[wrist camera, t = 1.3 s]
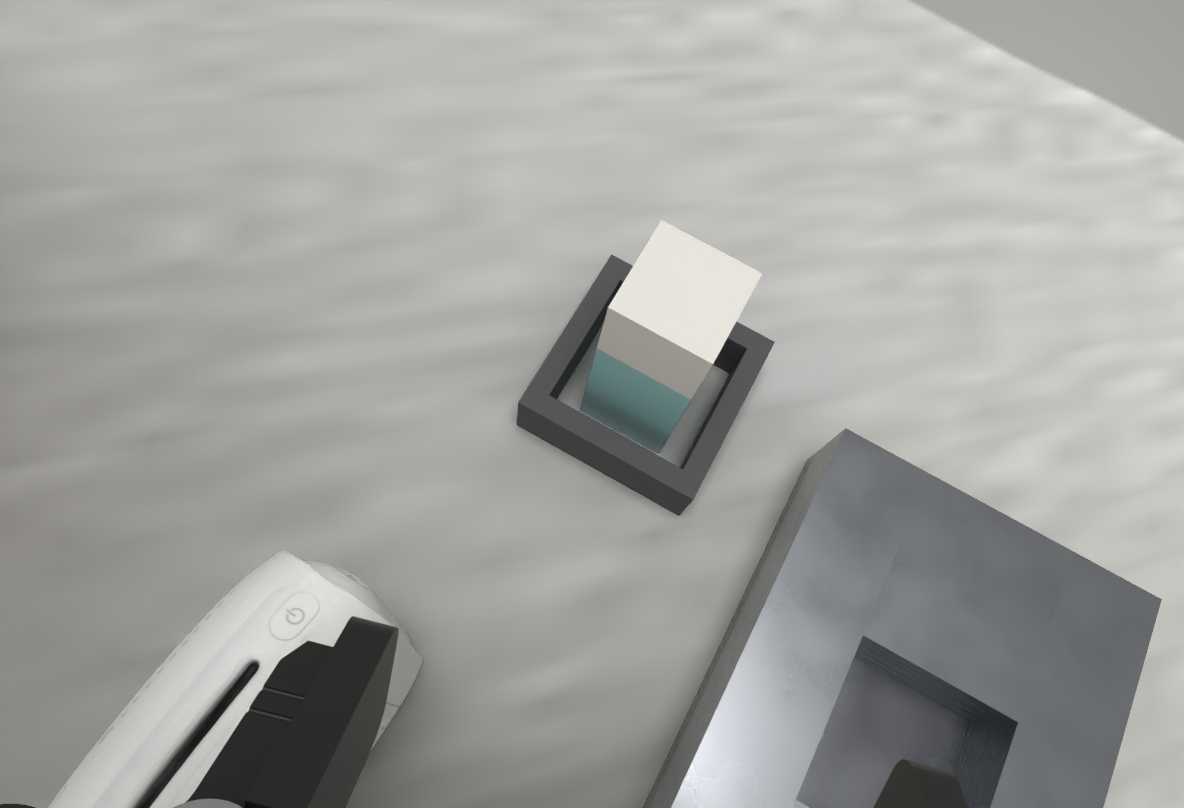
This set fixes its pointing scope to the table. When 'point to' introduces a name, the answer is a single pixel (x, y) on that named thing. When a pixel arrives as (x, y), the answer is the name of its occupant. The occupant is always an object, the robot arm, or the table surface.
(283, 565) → the photo printer
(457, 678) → the table surface
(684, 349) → the plug
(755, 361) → the dark grey square frame
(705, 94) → the table surface
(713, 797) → the block
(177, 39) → the table surface
